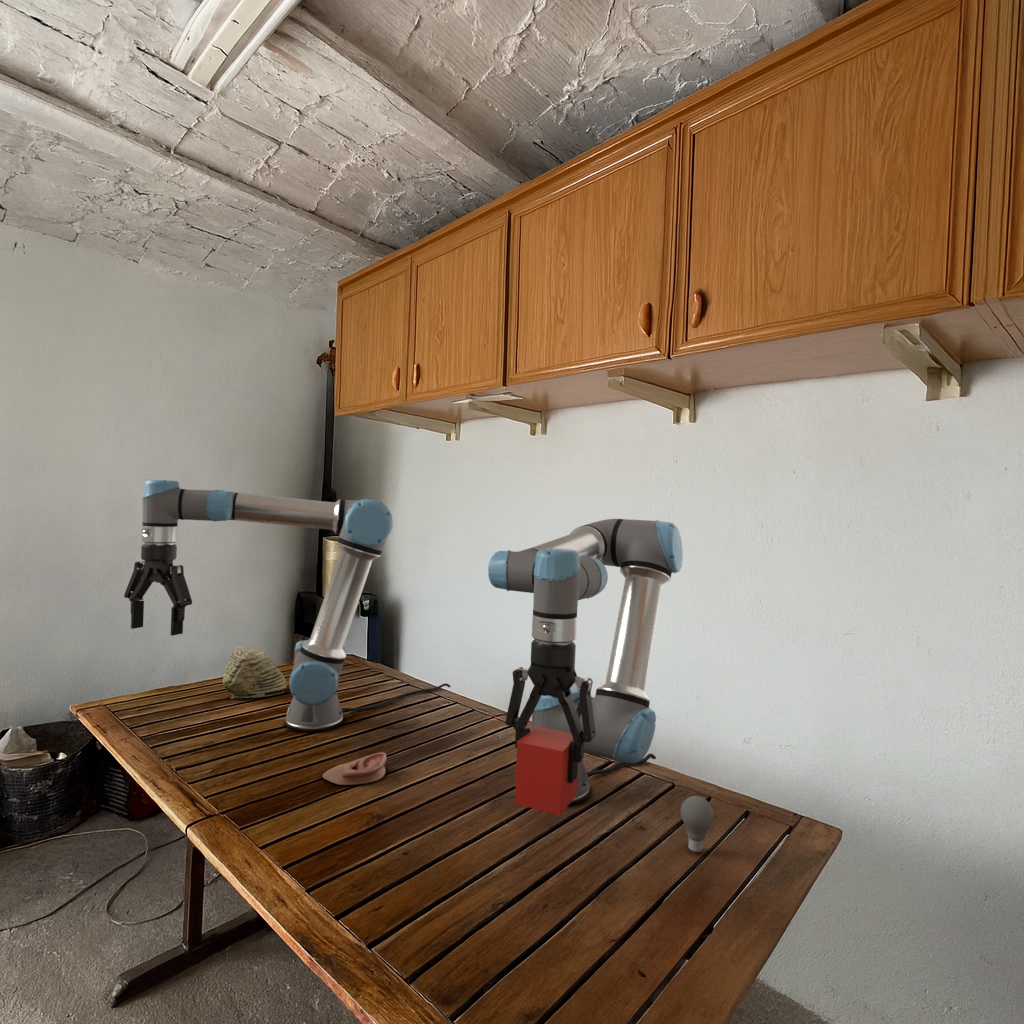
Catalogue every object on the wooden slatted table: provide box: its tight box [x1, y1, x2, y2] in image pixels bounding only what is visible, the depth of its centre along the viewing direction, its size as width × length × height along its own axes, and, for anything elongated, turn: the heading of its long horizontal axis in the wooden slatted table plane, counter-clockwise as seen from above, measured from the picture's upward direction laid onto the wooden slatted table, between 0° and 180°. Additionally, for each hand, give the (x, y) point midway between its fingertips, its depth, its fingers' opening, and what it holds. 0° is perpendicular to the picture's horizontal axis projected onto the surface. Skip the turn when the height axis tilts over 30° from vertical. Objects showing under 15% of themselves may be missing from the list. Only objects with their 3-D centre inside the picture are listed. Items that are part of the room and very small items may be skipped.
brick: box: [514, 726, 578, 817], centre depth 107 cm, size 8×8×10 cm
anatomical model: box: [321, 751, 387, 786], centre depth 144 cm, size 13×4×12 cm
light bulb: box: [680, 795, 715, 853], centre depth 119 cm, size 6×6×10 cm
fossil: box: [222, 646, 288, 699], centre depth 198 cm, size 9×18×15 cm, turn 132°
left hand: (156, 631), depth 153 cm, fingers open, 13 cm apart
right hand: (547, 773), depth 107 cm, fingers closed on brick, 8 cm apart
